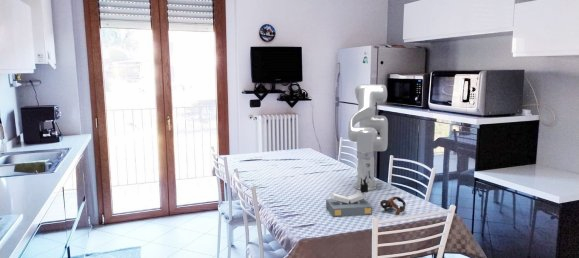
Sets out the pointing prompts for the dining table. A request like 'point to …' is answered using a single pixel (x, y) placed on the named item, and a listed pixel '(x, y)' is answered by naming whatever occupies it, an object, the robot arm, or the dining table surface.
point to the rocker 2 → (357, 197)
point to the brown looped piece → (393, 204)
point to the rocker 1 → (340, 198)
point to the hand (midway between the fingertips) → (364, 191)
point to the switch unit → (348, 208)
